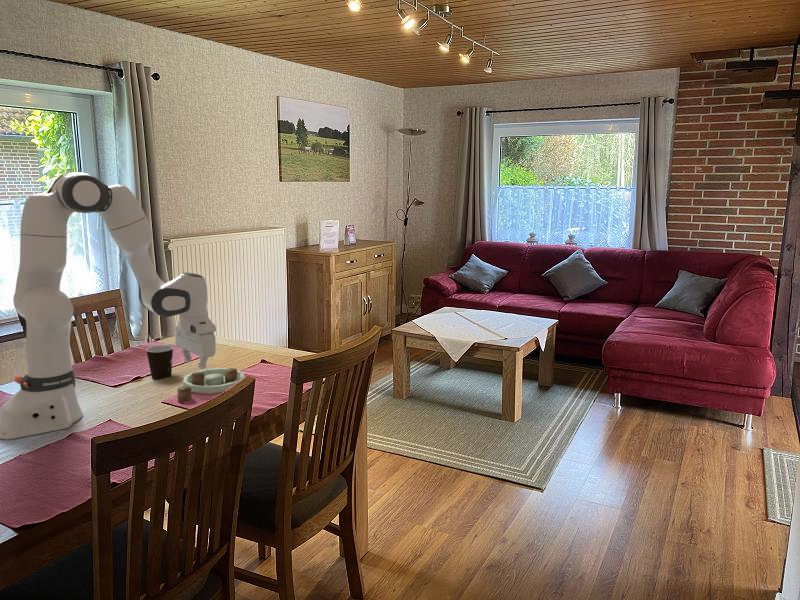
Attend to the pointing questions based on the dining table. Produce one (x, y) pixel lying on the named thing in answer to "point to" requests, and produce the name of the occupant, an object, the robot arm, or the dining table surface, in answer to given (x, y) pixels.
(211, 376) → the tray
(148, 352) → the coffee mug
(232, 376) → the bead
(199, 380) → the bead
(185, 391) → the bead
